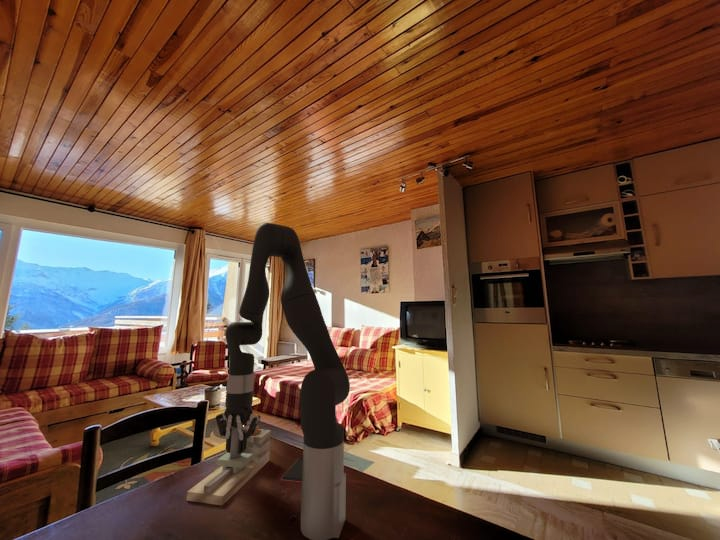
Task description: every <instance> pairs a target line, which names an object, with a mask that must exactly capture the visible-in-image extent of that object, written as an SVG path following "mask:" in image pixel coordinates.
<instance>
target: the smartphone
mask: <svg viewBox="0 0 720 540" xmlns="http://www.w3.org/2000/svg"><path fill="white" fill-rule="evenodd" d="M302 472H303V456H300V457H298V458H297V459H296V460H295V461H294V463H293V464H292V465H291V466H290V467H289V468H288V470H286V472H285V473H284V474H283V475H282V476H281V477H280V481H282V482H289V483H290V482H291V483H298V484H302Z"/></svg>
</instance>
